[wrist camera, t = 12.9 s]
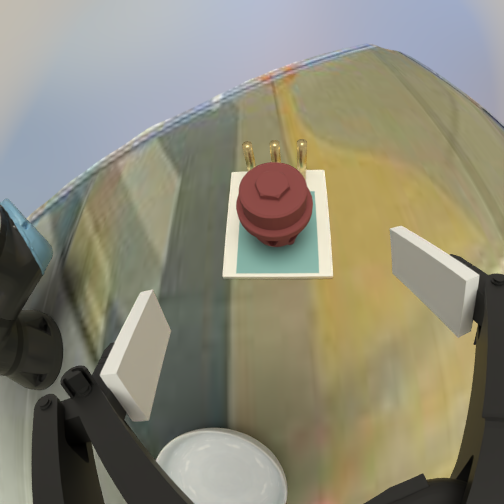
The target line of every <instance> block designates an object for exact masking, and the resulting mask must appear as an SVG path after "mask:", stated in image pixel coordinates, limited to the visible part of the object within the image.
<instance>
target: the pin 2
mask: <svg viewBox="0 0 504 504" xmlns="http://www.w3.org/2000/svg"><path fill="white" fill-rule="evenodd" d="M270 151H271V160H272V162H279V163H281V159H280V146H279V142H278V141H277V140H272V141H271V142H270Z"/></svg>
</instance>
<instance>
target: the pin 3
mask: <svg viewBox="0 0 504 504" xmlns="http://www.w3.org/2000/svg"><path fill="white" fill-rule="evenodd" d="M306 159H307V141H306V140H304V139H300V140H298V141H297V170H298V171H299V172H300V173H301V174H302V175H303V177H304V179H305V181H306Z"/></svg>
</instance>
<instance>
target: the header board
mask: <svg viewBox="0 0 504 504" xmlns="http://www.w3.org/2000/svg"><path fill="white" fill-rule="evenodd" d="M246 173H247V172H232V175H231V186H230V196H229V207H228V218H227V229H226V241H225V253H224V265H223V278H224V279H322V278H332V277H333V267H332V251H331V236H330V223H329V212H328V201H327V191H326V181H325V172H324V170H306V184H307V187H308V189H309V190H310V193H311V195H312V199H313V209H312V215H311V218H310V221H309V223H308V224H307V226H306V227H305V228H304V229H303V230H302V231H301V232H300V233H299V234H298V236H297V237H296V239H295V242H294V243H293V244H292V245H285V246H282V247H271V246H268V245H265V244H263V243H262V242H261V241H259V240H258V239H257V237H255V236H253V235H251V234H250V233H249V232H247V231H246V230H245V229H244V227H243V226H242V224H241V222H240V220H239V217H238V214H237V210H236V201H237V197H238V194H239V185H240V182H241V180H242V178H243V177H244V176H245V174H246Z"/></svg>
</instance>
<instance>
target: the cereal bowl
mask: <svg viewBox="0 0 504 504" xmlns="http://www.w3.org/2000/svg"><path fill="white" fill-rule="evenodd" d="M156 462H157V463H158V464H159V465H160V467H161V468H162V469H163V470H164V471H165V472H166V474H167V475H168V476H169V477H170V478H171V479H172V480H173V481H174V483H175V484H176V485H177V486H178V487H179V488H180V489H181V490H182V491H183V492H184V493H185V494H186V495H187V496H188V497H189V499H190V500H191V501H192V502H193V503H194V504H286V500H287V481H286V476H285V473H284V471H283V468H282V466H281V464H280V462H279V461H278V460H277V458H276V456H275V455H274V454H273V453H272V452H271V451H270V450H269V449H268V448H267V447H266V446H265V445H263V444H262V443H261V442H259V441H258V440H256V439H254V438H253V437H251V436H249V435H247V434H244V433H241V432H238V431H235V430H231V429H225V428H202V429H197V430H194V431H190V432H187V433H185V434H182V435H180V436H178V437H176V438H175V439H173V440H172V441H170V442H169V443H168V444H167V445H166V446H165V447H164V448H163V449H162V450H161V452H160V453H159V455H158V457H157V459H156Z"/></svg>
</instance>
